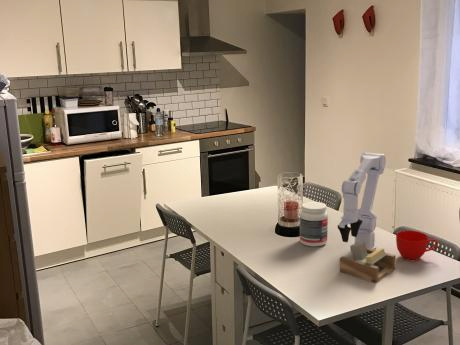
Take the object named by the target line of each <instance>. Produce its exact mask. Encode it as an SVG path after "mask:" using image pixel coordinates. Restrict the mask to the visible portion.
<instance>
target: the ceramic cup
mask: <svg viewBox="0 0 460 345" xmlns="http://www.w3.org/2000/svg"><path fill="white" fill-rule="evenodd" d="M395 236H396V237H395V242H396V248H397V251H398V252H399V255H400V256H401V257H402V258H403V259H404V260H407V261H411V262H412V261H418V260H420V259H421V257H423V256H424V254H425V253H427V252H430V251H433V250H435V249H436V248H437V246H438V244H439V242H438V241H437V239H435V238H434V239H433V238H430V239H429V236H428V235H427V234H426V233H425V232H424V233H423V232H420V231H417V230H416V231H415V230H403V231H402V230H401V231H398V232H397V233H396V235H395ZM431 242H435V244H434V246H432V247H431V248H428V245H429V243H431Z"/></svg>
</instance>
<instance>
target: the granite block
mask: <svg viewBox="0 0 460 345" xmlns="http://www.w3.org/2000/svg"><path fill="white" fill-rule="evenodd" d="M349 247H350V252H351V256H352V259H353V260H363V259H365V258H366V257H367V256H368V254H367V250H366V246H365V242H362V243H355V242H354V243H353V244H351V245H349Z"/></svg>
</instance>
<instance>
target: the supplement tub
mask: <svg viewBox="0 0 460 345" xmlns="http://www.w3.org/2000/svg"><path fill="white" fill-rule="evenodd" d="M328 221H329V214H328V212H327V205H326V204H325V203H324V202H319V201H308V202H304V203H302V204H301V211H300V212H299V241H300V243H301V244H302V245H305V246H308V247H322V246H324V245H325V244H327V242H328V227H329V226H328V225H329V222H328Z"/></svg>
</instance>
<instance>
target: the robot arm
mask: <svg viewBox="0 0 460 345" xmlns="http://www.w3.org/2000/svg"><path fill="white" fill-rule="evenodd" d="M386 160H387V159H386V155H385V154H384V153H373V152H366V151H364V152H362V154H361V155H360V160H359V161H360V165H359V167H358V169H355V170H354V171H353V172H352V173H351V175H350V176H349V177H348V179H346V180H344V181H342V185H341V193H342V198H343V215H342V216H341V217H340V219H341V221H340V222H339V224H338V225H337V229H338V231H339V233H340V237H341V240H342V242H344V243H348V242H349V237H350V235H351V237H354V243H362V242H365V246H366V247H367V248H371V249H374V250H376V249H377V246H375V242H376V241H375V240H376V239H375V238H376V234H375V230H376V227H377V215H376V213H375V212H374V211H373V210H372V209H373V206H374V200H375V195H376V190H377V187H378V186H377V185H378V182H379V178H380V175H383V174H384V171H385V168H386V163H387V162H386ZM366 174H367V175H366ZM365 180H366V181H365ZM364 182H365V187H364V191H363V195H362V201H361V204H360V208H359V207H358V205H359V195H360V193H361V190H362V186H363V183H364ZM358 208H359V209H358ZM348 225H350V226H348Z"/></svg>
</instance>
